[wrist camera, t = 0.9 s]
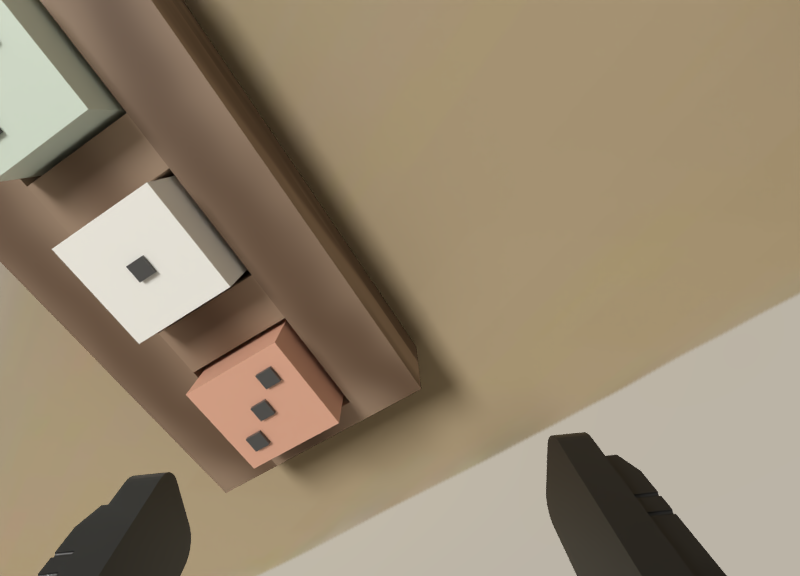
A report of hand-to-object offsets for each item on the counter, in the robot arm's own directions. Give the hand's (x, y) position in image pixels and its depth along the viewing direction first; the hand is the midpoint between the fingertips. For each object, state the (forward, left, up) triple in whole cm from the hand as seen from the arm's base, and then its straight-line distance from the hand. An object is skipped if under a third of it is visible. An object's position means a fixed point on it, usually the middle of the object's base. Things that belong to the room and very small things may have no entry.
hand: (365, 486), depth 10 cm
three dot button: (+9, +2, -16) cm, 18 cm away
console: (+9, -7, -19) cm, 22 cm away
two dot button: (+9, -16, -16) cm, 24 cm away
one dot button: (+9, -7, -16) cm, 19 cm away
